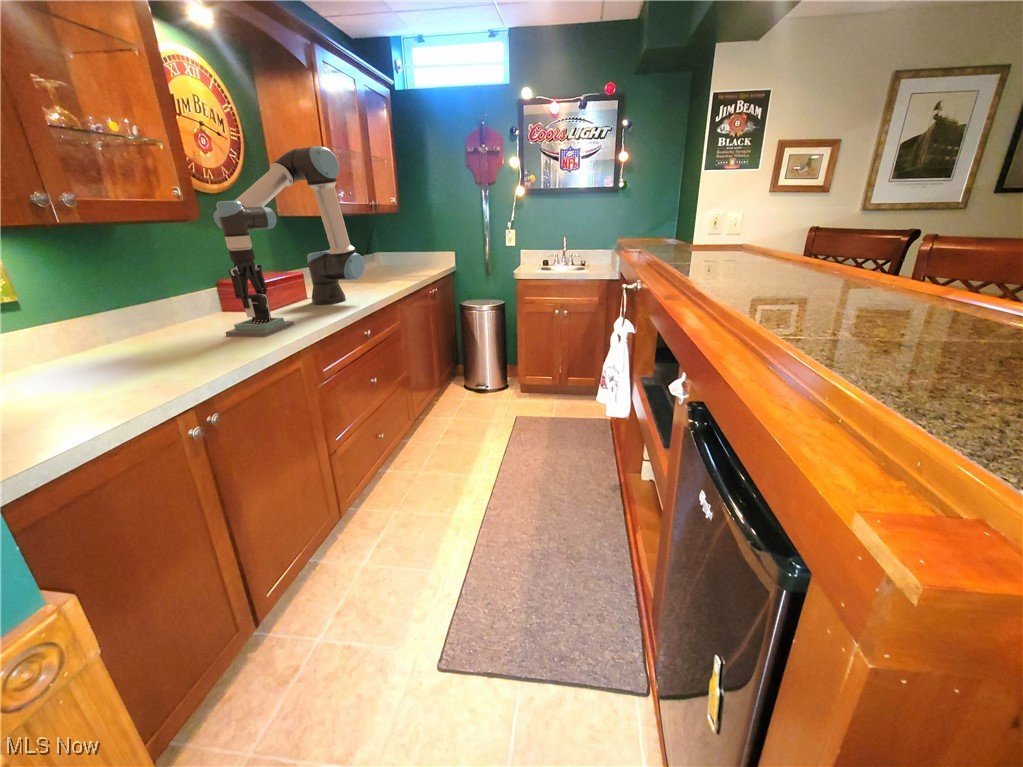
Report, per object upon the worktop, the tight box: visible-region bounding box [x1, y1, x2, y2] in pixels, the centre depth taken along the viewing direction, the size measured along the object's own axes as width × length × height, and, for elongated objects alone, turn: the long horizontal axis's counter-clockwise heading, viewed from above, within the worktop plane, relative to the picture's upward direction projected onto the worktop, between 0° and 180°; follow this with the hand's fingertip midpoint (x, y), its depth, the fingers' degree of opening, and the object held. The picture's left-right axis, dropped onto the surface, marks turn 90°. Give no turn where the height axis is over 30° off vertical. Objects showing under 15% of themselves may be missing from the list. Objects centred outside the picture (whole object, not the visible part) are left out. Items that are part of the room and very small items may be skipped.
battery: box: [248, 293, 272, 324], centre depth 159 cm, size 7×4×11 cm, turn 81°
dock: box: [224, 317, 295, 337], centre depth 161 cm, size 16×16×4 cm
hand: (257, 314), depth 160 cm, fingers open, 6 cm apart
